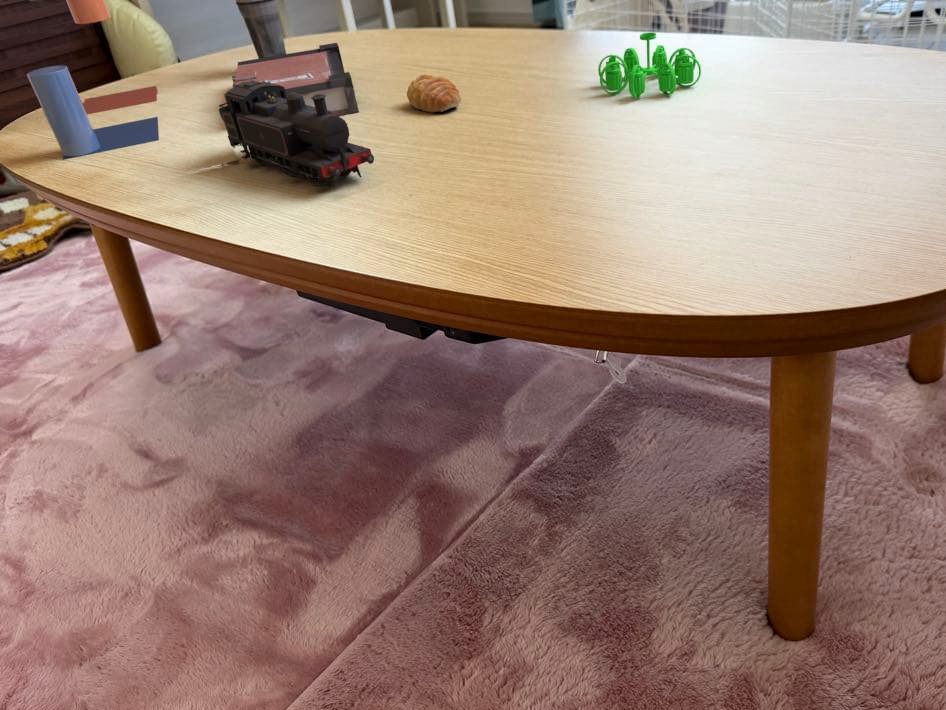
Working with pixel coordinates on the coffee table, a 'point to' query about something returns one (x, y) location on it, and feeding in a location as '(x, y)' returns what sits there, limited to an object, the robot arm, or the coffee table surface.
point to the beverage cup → (263, 26)
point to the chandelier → (649, 70)
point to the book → (305, 76)
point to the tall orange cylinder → (88, 11)
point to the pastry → (433, 93)
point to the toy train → (290, 132)
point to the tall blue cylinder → (64, 110)
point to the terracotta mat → (120, 100)
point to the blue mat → (126, 135)
